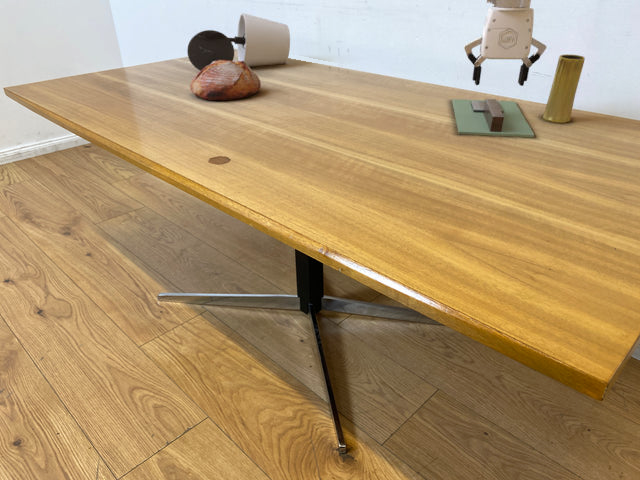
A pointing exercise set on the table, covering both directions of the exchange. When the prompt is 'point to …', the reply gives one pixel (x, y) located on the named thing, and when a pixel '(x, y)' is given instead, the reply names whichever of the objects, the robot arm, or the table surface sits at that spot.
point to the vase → (564, 88)
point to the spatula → (490, 113)
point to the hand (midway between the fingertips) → (498, 84)
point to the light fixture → (243, 44)
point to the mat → (477, 123)
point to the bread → (225, 81)
